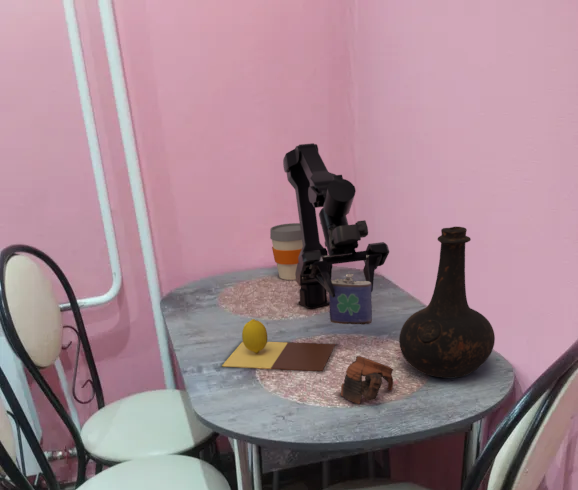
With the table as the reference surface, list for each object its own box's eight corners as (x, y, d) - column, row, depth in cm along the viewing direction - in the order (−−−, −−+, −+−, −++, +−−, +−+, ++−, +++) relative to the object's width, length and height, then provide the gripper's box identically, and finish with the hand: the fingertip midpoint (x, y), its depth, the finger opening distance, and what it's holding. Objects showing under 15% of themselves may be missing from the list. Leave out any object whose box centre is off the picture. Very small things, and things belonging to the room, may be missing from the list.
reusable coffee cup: (320, 272, 191) (318, 224, 185) (300, 283, 182) (296, 233, 175) (287, 268, 198) (283, 222, 191) (265, 279, 188) (261, 230, 182)
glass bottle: (382, 374, 121) (381, 233, 109) (429, 345, 133) (433, 215, 120) (463, 397, 110) (473, 243, 98) (507, 363, 121) (521, 222, 109)
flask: (373, 320, 130) (372, 272, 125) (370, 325, 128) (369, 276, 123) (331, 318, 133) (329, 271, 128) (328, 323, 131) (325, 275, 126)
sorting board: (242, 342, 142) (242, 340, 142) (335, 345, 136) (335, 344, 136) (222, 366, 130) (221, 365, 130) (322, 371, 124) (322, 370, 124)
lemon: (270, 356, 132) (266, 322, 129) (244, 359, 132) (241, 325, 128) (267, 347, 137) (264, 313, 134) (243, 349, 137) (239, 316, 133)
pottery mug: (331, 391, 117) (346, 350, 116) (374, 405, 119) (389, 366, 118) (349, 403, 105) (365, 358, 104) (396, 419, 108) (413, 375, 107)
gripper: (298, 212, 122) (314, 280, 117) (386, 203, 125) (405, 269, 120) (292, 243, 132) (307, 306, 127) (374, 233, 135) (391, 295, 130)
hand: (352, 294), depth 126 cm, fingers closed on flask, 8 cm apart
